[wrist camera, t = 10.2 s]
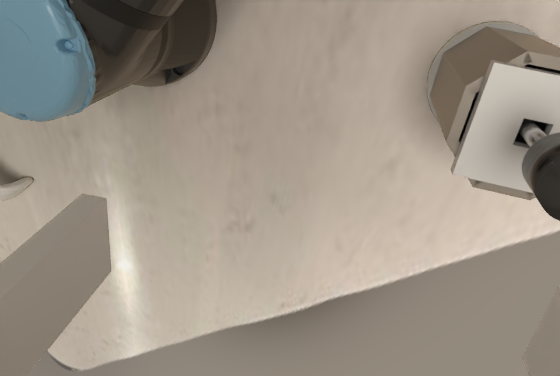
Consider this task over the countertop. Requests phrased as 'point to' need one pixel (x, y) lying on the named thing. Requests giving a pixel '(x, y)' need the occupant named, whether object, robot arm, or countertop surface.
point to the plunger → (539, 162)
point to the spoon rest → (14, 188)
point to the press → (494, 101)
